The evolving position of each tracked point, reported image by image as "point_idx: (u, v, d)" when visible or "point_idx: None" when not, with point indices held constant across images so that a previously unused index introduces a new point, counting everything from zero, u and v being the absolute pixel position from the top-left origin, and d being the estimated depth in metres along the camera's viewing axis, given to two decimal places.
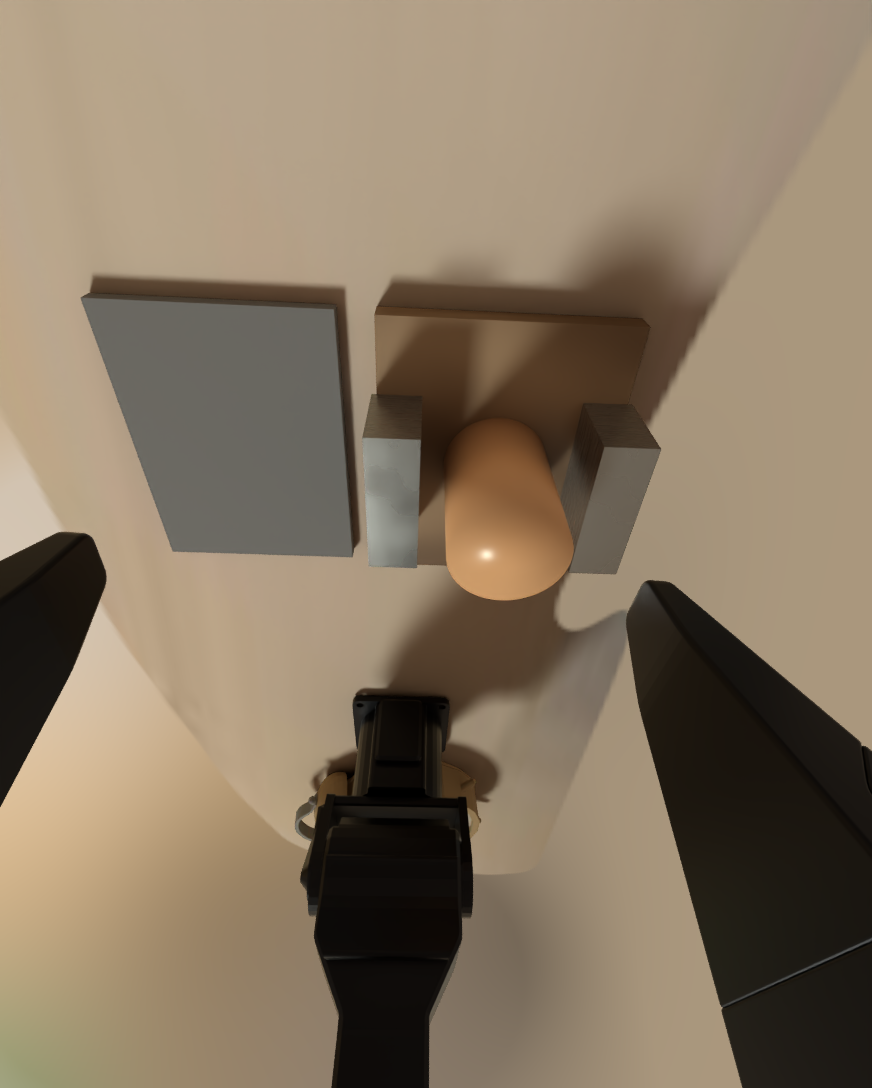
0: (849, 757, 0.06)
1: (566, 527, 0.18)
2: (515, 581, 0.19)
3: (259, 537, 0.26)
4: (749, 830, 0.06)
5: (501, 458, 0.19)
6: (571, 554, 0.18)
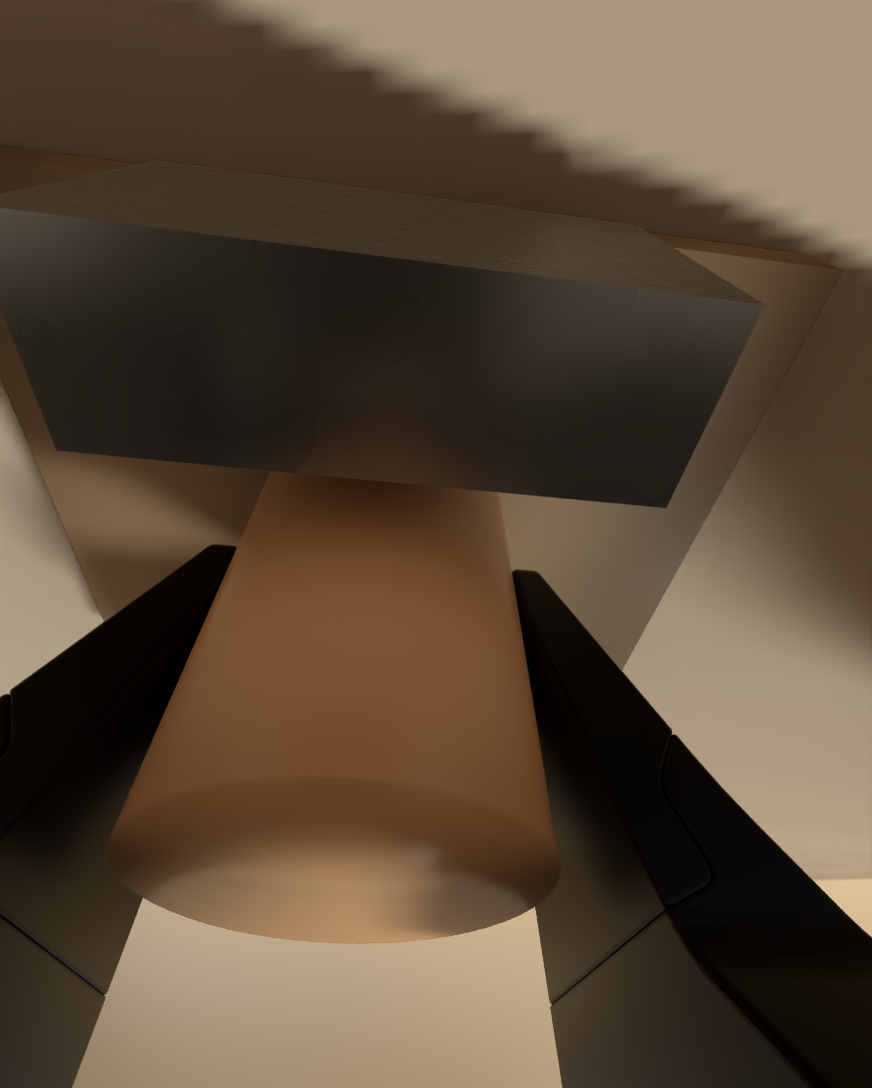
0: (652, 745, 0.06)
1: (174, 792, 0.04)
2: (463, 872, 0.05)
3: None
4: (566, 821, 0.06)
5: None
6: (319, 779, 0.04)
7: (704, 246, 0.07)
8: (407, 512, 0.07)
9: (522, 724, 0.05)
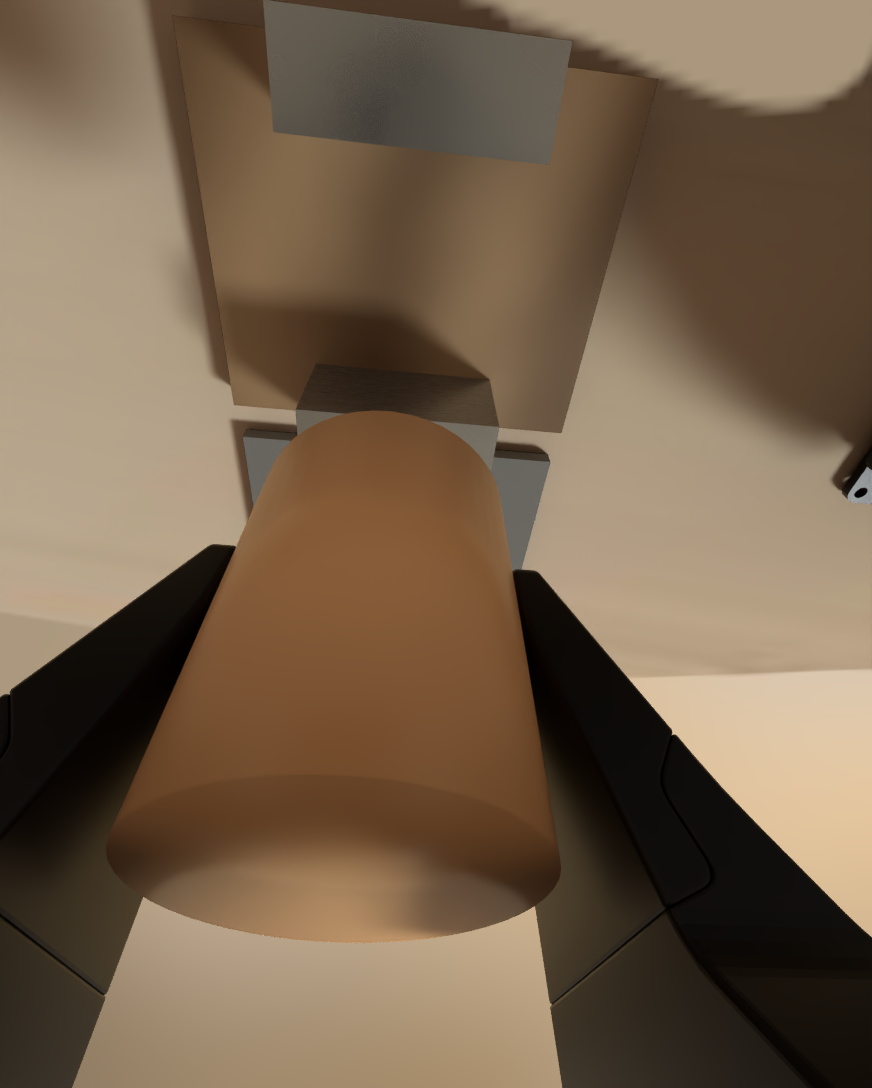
0: (652, 746, 0.06)
1: (173, 790, 0.04)
2: (464, 871, 0.05)
3: None
4: (566, 822, 0.06)
5: None
6: (319, 776, 0.04)
7: (584, 70, 0.14)
8: (407, 509, 0.07)
9: (523, 722, 0.05)
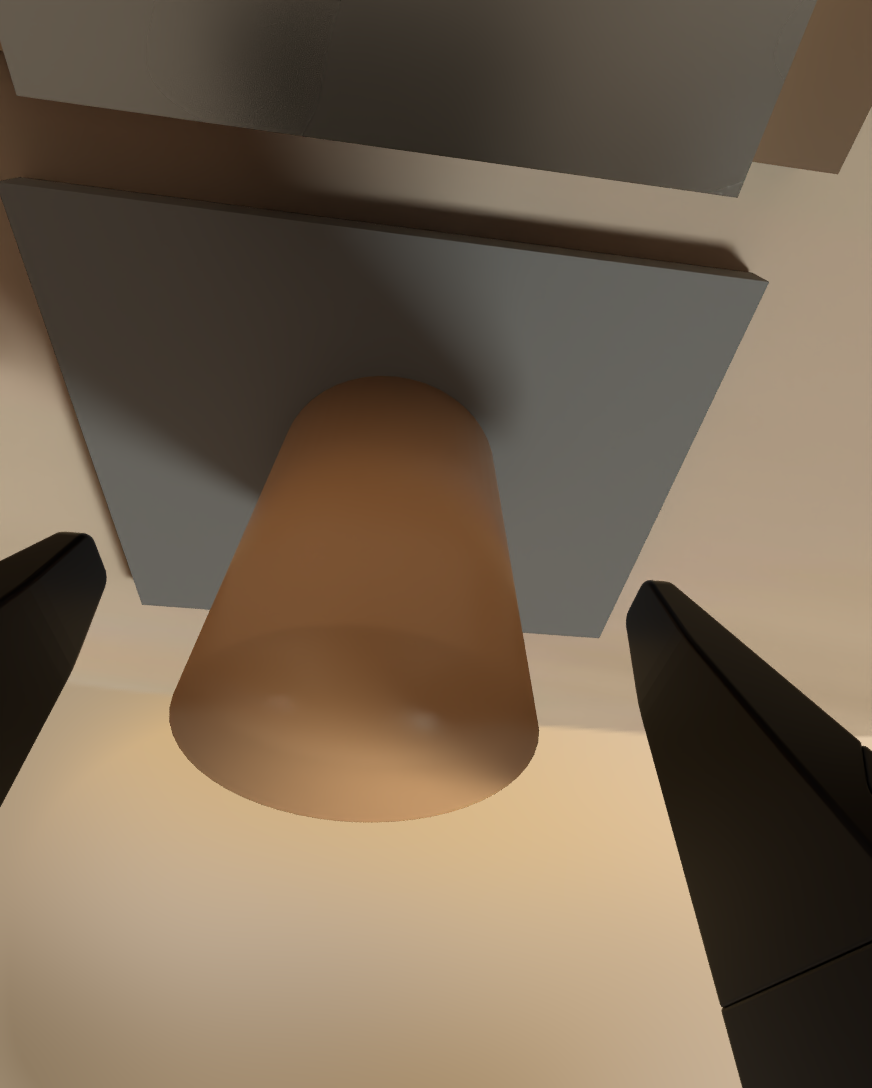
0: (849, 757, 0.06)
1: (230, 644, 0.05)
2: (460, 732, 0.06)
3: (613, 499, 0.11)
4: (749, 830, 0.06)
5: None
6: (346, 627, 0.05)
7: None
8: (411, 451, 0.08)
9: (507, 615, 0.07)
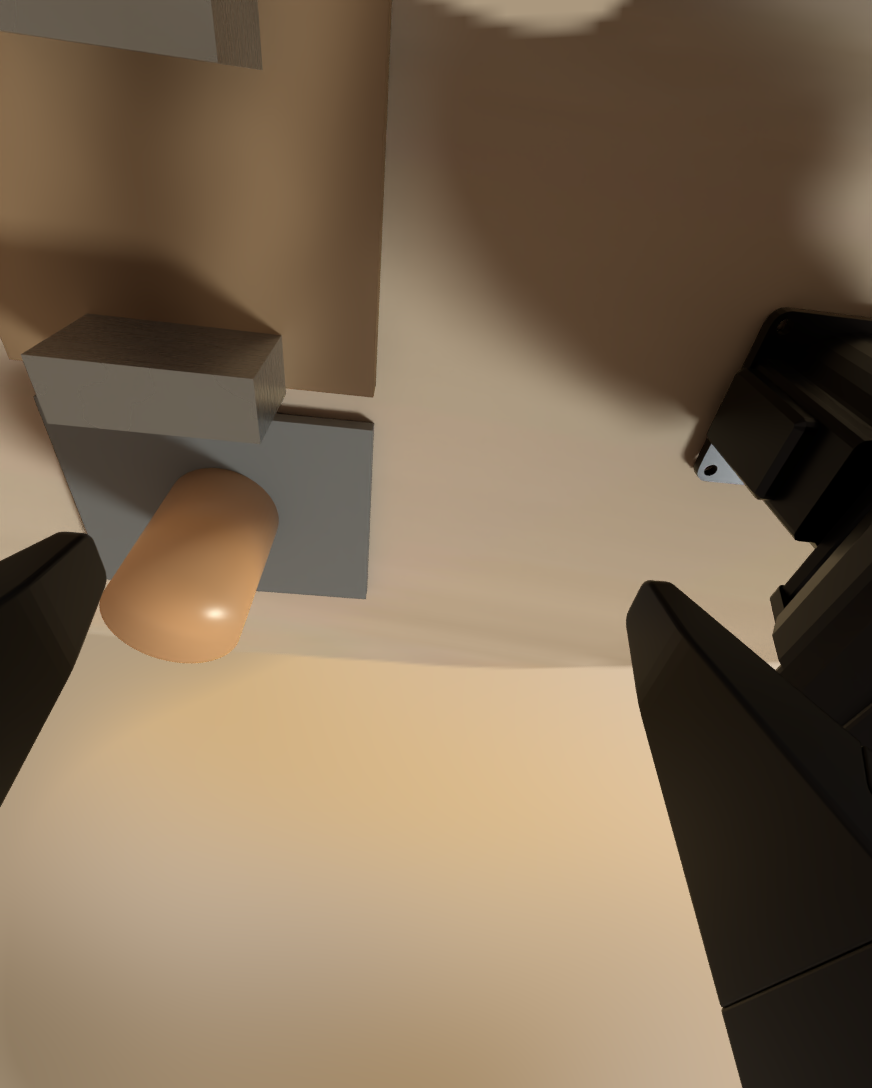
0: (849, 757, 0.06)
1: (116, 579, 0.16)
2: (207, 615, 0.17)
3: (342, 523, 0.22)
4: (749, 830, 0.06)
5: None
6: (152, 573, 0.16)
7: None
8: (206, 508, 0.19)
9: (228, 573, 0.18)
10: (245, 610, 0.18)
